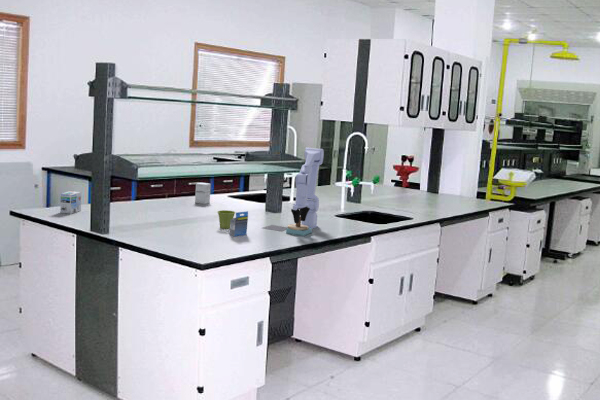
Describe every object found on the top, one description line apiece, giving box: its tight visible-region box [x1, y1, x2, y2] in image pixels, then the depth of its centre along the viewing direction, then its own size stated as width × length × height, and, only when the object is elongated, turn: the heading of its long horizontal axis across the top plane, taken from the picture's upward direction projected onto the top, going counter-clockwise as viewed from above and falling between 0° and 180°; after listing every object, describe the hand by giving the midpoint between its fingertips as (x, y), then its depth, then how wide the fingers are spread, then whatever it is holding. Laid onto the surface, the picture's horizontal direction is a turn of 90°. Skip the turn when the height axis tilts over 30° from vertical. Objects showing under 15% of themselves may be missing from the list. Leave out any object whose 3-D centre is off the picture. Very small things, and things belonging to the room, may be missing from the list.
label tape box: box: [229, 210, 249, 237], centre depth 329 cm, size 9×4×12 cm, turn 141°
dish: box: [285, 228, 313, 237], centre depth 343 cm, size 10×10×3 cm
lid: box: [286, 216, 308, 230], centre depth 342 cm, size 11×11×6 cm
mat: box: [262, 224, 288, 232], centre depth 352 cm, size 12×12×1 cm
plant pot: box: [217, 209, 236, 230], centre depth 344 cm, size 9×9×9 cm
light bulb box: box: [59, 190, 82, 215], centre depth 358 cm, size 11×7×11 cm, turn 168°
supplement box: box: [194, 182, 212, 205], centre depth 415 cm, size 7×7×13 cm
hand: (299, 221), depth 342 cm, fingers open, 7 cm apart
